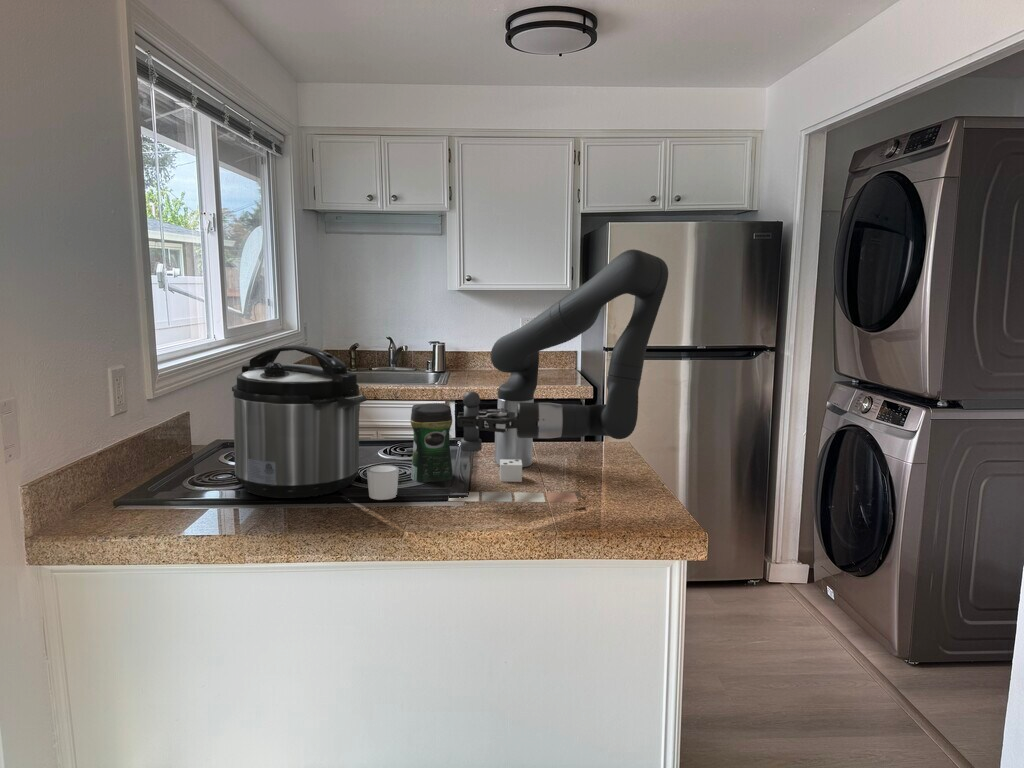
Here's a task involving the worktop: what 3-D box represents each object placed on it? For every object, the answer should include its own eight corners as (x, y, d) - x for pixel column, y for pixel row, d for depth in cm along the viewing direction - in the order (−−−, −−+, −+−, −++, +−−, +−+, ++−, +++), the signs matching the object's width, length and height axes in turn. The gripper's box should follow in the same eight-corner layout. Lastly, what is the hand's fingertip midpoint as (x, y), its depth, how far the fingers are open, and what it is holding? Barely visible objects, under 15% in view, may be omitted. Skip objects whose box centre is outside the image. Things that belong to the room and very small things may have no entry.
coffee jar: (447, 475, 168) (448, 399, 165) (455, 484, 160) (456, 405, 157) (407, 478, 164) (407, 401, 162) (414, 487, 157) (414, 407, 154)
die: (500, 485, 160) (500, 464, 159) (499, 479, 165) (500, 458, 164) (521, 486, 160) (522, 464, 159) (520, 479, 165) (521, 459, 164)
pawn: (456, 448, 147) (457, 390, 145) (473, 445, 149) (474, 389, 148) (468, 452, 143) (469, 393, 141) (485, 449, 146) (486, 391, 144)
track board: (441, 508, 143) (441, 503, 143) (444, 494, 153) (444, 489, 153) (585, 510, 144) (585, 505, 144) (579, 495, 154) (579, 490, 154)
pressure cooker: (386, 490, 154) (385, 349, 150) (256, 512, 138) (250, 355, 134) (337, 460, 179) (335, 338, 174) (221, 476, 162) (215, 342, 158)
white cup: (405, 498, 149) (405, 466, 148) (387, 507, 143) (386, 474, 142) (379, 493, 152) (379, 462, 151) (360, 502, 146) (359, 470, 145)
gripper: (537, 397, 152) (459, 396, 152) (542, 409, 138) (456, 408, 138) (536, 430, 153) (458, 429, 153) (541, 445, 140) (455, 444, 139)
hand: (458, 419), depth 145 cm, fingers closed on pawn, 3 cm apart
